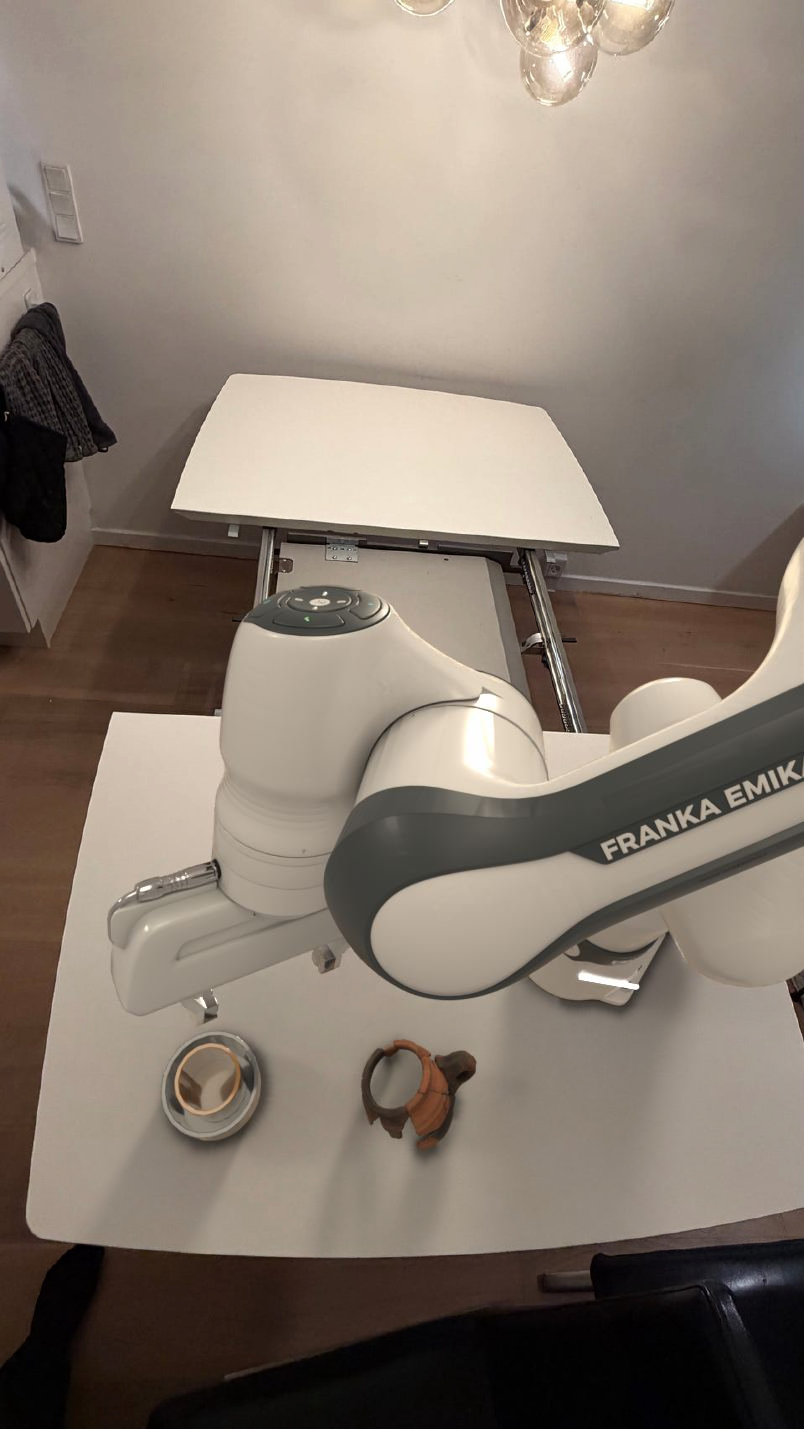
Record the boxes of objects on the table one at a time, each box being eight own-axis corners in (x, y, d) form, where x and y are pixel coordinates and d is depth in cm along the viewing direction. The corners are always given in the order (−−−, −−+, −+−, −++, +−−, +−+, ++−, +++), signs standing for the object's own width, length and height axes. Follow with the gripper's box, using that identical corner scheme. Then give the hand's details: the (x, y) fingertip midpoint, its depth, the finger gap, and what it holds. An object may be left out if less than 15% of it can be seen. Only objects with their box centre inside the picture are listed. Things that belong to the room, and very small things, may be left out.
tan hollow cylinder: (227, 1045, 70) (219, 1029, 62) (256, 1093, 68) (252, 1083, 60) (177, 1083, 67) (162, 1072, 60) (206, 1135, 65) (195, 1130, 58)
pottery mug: (402, 1178, 66) (374, 1148, 61) (367, 1092, 74) (339, 1060, 69) (503, 1107, 68) (483, 1073, 63) (458, 1030, 76) (438, 994, 71)
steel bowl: (232, 1023, 72) (226, 1011, 66) (277, 1097, 68) (276, 1090, 63) (155, 1081, 68) (143, 1073, 62) (200, 1162, 64) (191, 1161, 59)
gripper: (122, 938, 33) (127, 1095, 40) (445, 834, 44) (405, 970, 51) (91, 854, 37) (100, 1010, 44) (393, 779, 49) (363, 912, 55)
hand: (266, 988), depth 48 cm, fingers open, 8 cm apart
